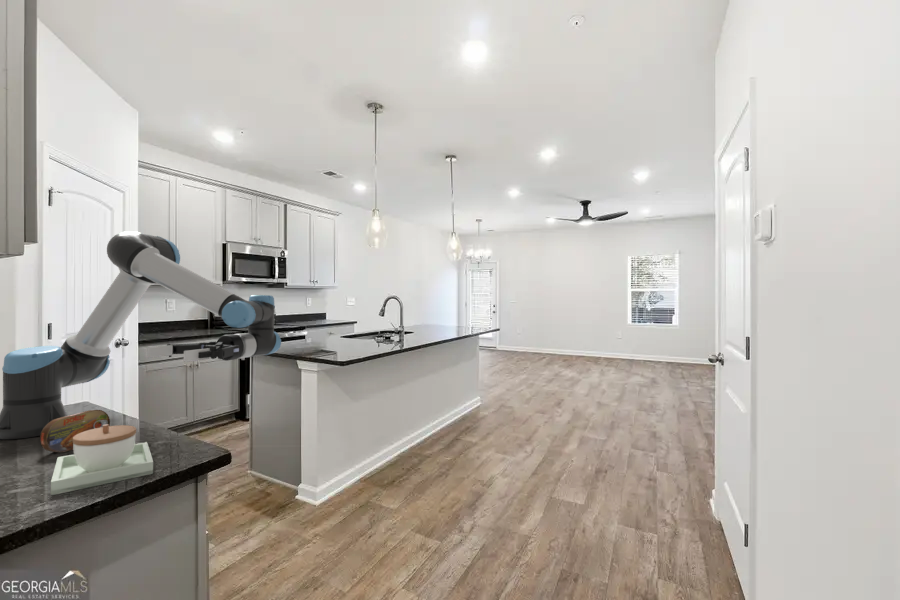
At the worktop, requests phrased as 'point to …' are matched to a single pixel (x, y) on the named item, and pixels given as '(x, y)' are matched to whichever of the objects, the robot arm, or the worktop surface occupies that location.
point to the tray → (76, 478)
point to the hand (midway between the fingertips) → (165, 354)
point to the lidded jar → (104, 447)
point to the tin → (70, 429)
